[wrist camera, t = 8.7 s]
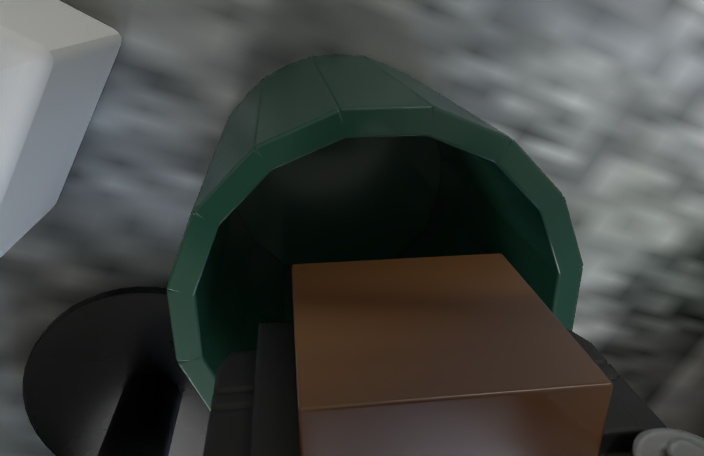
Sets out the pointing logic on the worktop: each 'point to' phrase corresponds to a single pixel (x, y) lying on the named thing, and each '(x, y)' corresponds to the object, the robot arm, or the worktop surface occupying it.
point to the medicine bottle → (45, 103)
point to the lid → (113, 381)
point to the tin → (353, 201)
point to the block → (438, 363)
